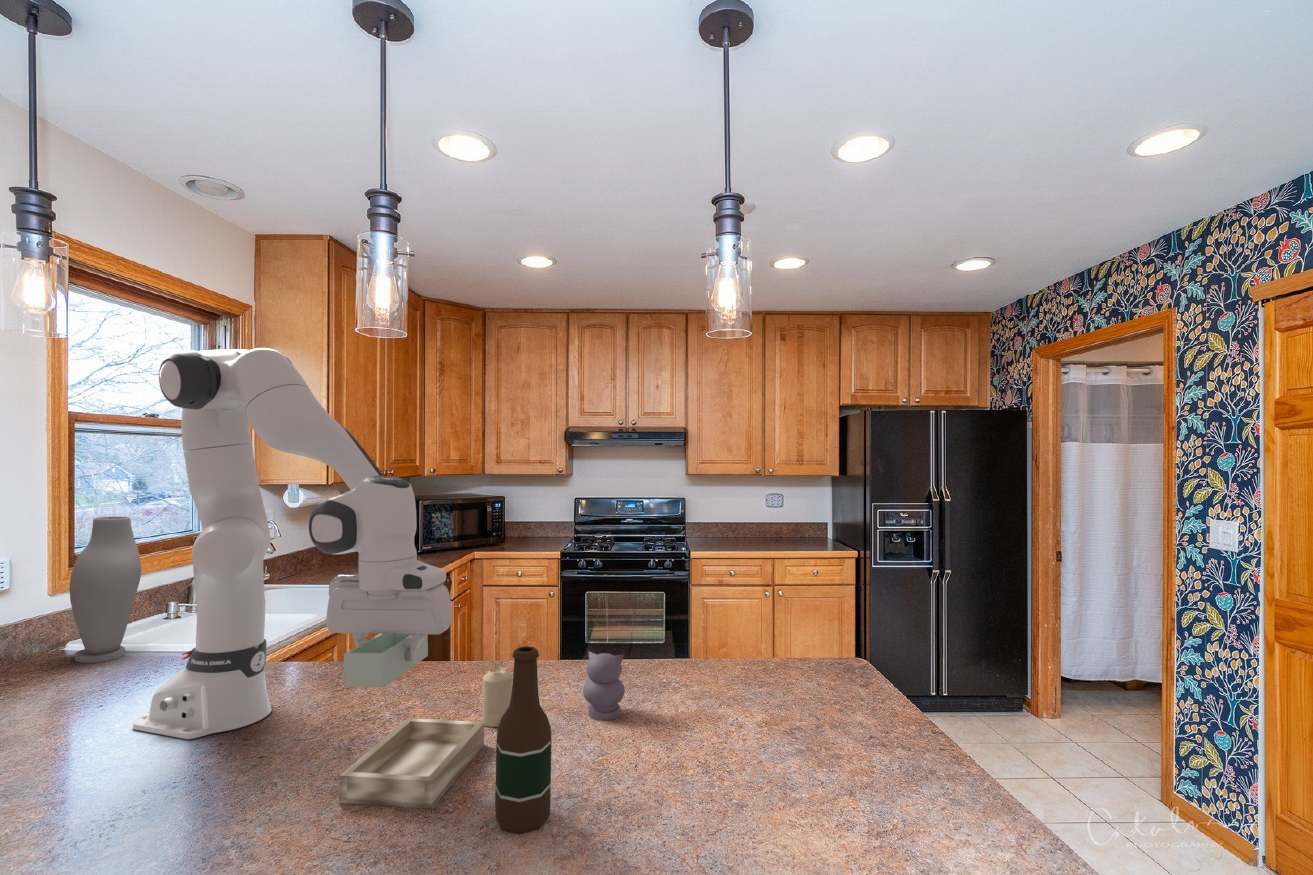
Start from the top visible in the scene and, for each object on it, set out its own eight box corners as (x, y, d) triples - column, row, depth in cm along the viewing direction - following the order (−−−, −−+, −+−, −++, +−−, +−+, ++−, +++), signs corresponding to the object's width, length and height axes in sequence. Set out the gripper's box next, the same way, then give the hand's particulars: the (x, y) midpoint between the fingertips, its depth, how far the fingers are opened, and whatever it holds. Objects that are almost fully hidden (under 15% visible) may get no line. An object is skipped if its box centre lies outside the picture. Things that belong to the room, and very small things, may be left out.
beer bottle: (499, 804, 92) (502, 641, 92) (552, 802, 92) (555, 640, 93) (489, 836, 84) (493, 658, 85) (547, 834, 85) (550, 657, 85)
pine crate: (338, 802, 92) (339, 775, 92) (406, 740, 112) (407, 717, 112) (432, 809, 90) (432, 781, 90) (483, 744, 111) (484, 721, 111)
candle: (503, 728, 117) (504, 675, 118) (476, 725, 118) (477, 673, 119) (515, 716, 123) (516, 665, 123) (490, 714, 124) (491, 663, 124)
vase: (51, 662, 150) (60, 518, 152) (106, 646, 163) (115, 514, 164) (96, 667, 148) (105, 521, 149) (149, 651, 161) (157, 516, 162)
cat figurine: (576, 719, 122) (577, 657, 122) (590, 703, 129) (591, 646, 130) (617, 724, 120) (617, 661, 120) (629, 708, 127) (630, 649, 128)
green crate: (344, 686, 95) (343, 653, 95) (393, 654, 108) (392, 626, 108) (383, 687, 94) (383, 654, 94) (427, 655, 108) (427, 626, 108)
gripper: (316, 578, 100) (317, 664, 99) (437, 579, 97) (439, 667, 97) (341, 570, 106) (342, 651, 106) (455, 571, 104) (456, 654, 103)
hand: (389, 659), depth 101 cm, fingers closed on green crate, 6 cm apart
